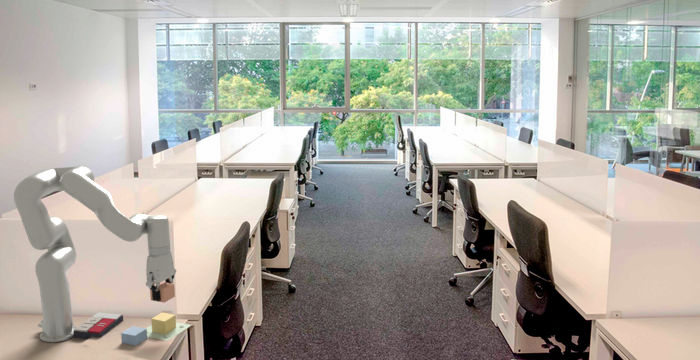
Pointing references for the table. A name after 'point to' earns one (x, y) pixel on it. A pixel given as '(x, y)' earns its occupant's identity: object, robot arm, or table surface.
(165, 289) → the terracotta brick
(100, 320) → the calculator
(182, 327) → the build plate
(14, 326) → the table surface
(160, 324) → the ochre brick
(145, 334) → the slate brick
